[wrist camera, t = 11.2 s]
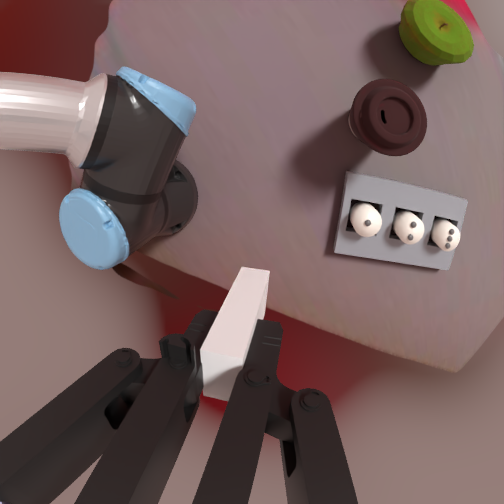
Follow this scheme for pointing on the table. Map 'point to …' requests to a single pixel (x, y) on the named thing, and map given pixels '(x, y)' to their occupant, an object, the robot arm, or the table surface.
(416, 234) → the button
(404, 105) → the coffee cup
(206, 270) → the table surface
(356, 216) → the button
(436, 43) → the apple
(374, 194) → the console
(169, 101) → the robot arm
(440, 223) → the button
